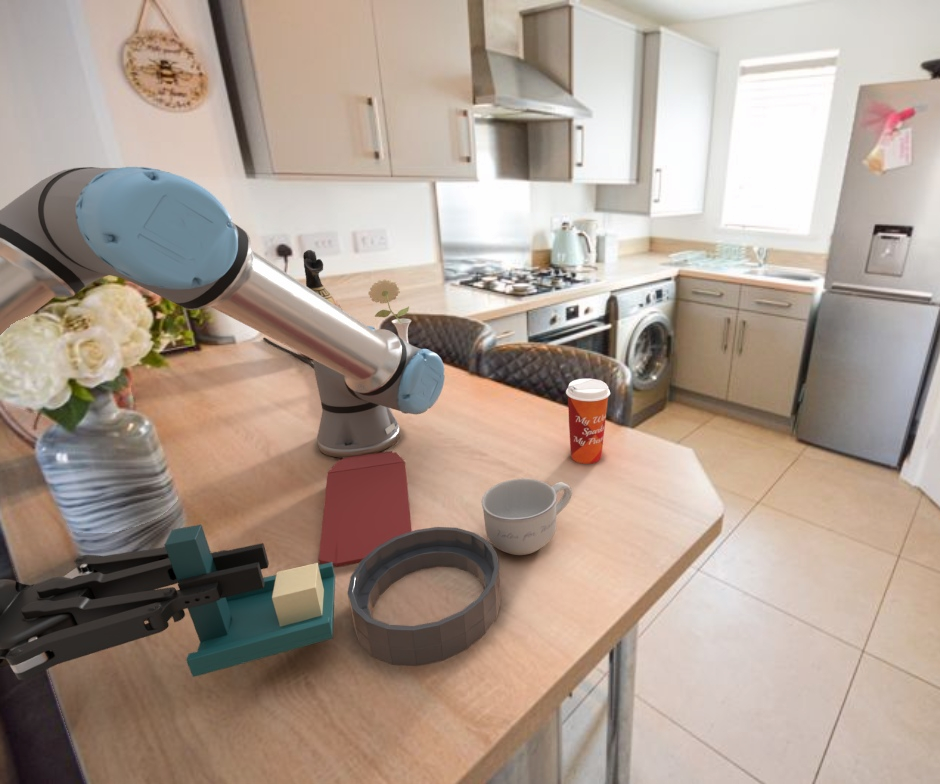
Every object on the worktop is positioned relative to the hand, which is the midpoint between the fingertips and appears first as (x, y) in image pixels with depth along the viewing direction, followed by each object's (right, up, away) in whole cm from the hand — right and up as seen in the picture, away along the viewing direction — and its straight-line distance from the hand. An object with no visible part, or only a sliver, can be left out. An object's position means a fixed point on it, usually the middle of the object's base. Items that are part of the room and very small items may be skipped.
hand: (262, 565), depth 53 cm
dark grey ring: (+14, -9, +11) cm, 20 cm away
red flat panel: (-1, -2, +29) cm, 29 cm away
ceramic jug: (-45, +29, +101) cm, 115 cm away
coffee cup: (+33, +5, +48) cm, 59 cm away
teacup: (+25, -4, +25) cm, 35 cm away
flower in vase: (-18, +24, +91) cm, 95 cm away
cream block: (+2, -6, +4) cm, 7 cm away
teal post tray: (-1, -7, +3) cm, 8 cm away
